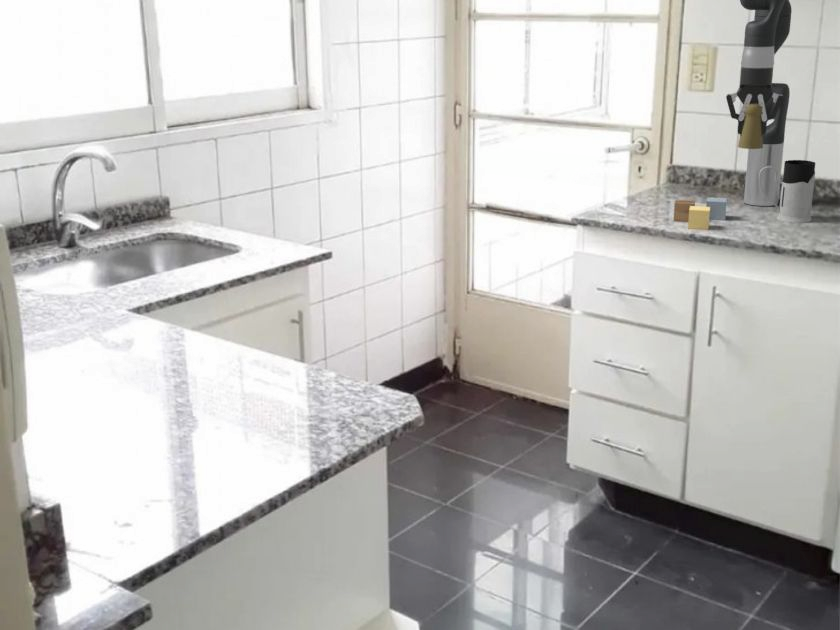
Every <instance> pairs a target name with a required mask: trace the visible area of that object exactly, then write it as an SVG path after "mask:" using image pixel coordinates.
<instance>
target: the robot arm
mask: <svg viewBox="0 0 840 630" xmlns="http://www.w3.org/2000/svg"><path fill="white" fill-rule="evenodd" d="M739 3H740V5H741V6H742V8H743V9H746V10H749V11H754V18H753V19H754V20H752V21H749V22H747V23H746V25H745V30H744V40H743V50H742V53H741V61H740V74H739V85H738V86H739V87H738V89H737V91H735V92H734V93H728V94H726V96H725V97H726V101H727V102H726V103H727V107H728V110H729V115H730V117H731V118H732V119H734V120H737V135H739V137H740V136H741V135H742V130H743V126H744V116H745V114H744V112H745V109H746V108H745V107H747V106H748V105H749V103H758V104H759V105H760V106H761V107H763V108H762V112H763V114H762V115H761V117H762V122H761V133H762V137H763V148H760V149H748V150H747V161H746V170H745V171H746V172H745V174H746V175H745V183H744V184H745V185H744V195H743V203H744V204H746V205H749V206H759V207H770V206H775V205H774V204H773V203H772V202H770V201H769V200H768V199H767V198H766V197H765V196H764V195H763V193H762V191H761V188H760V185H759V173H760V171H761V169H763V168H764V167H767V166H770V167H773V168H774V169H775V170H776V172H777V181H778V182H781V176H782V168H783V167H782V166H783V155H784V154H783V153H784V144H785V132H786V122H787V118H788V115H787V114H788V109H789V103H790V95H791V93H790V87H789V84H787V83H782V82H773V75H774V74H773V73H774V65H775V55H776V54H777V52H778V51H779V50H780V49H781V48H782V46H783V45H784V43H785V42H786V40H787V38H788V37H789V34H790V30H791V21H792V5H791V3H790V0H739ZM737 98H738V99H739V101H740V103H742V106H741V109H740V111H739V113H737V112H736V109H735V105H734V103H735V102H736V99H737ZM771 120H773V121H772V122H771V123H770V124H768V125H767V123H768V121H771ZM760 182H761V187H762V189H763V191H764V193H765V194H766V196H767V197H768V198H769V199H771V200H772V201H773V202H774V203H775V204H776V205H777V206H778V204H779V199H780V198H779V196H780V188H781V187H780V185H781V184H780V183H777V182H776V180H775V171H774V170H773V169H772V168H765V169H764V170H762V172H761V175H760Z"/></svg>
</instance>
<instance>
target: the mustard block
mask: <svg viewBox="0 0 840 630" xmlns="http://www.w3.org/2000/svg"><path fill="white" fill-rule="evenodd" d="M709 217H710V207H706V206H702V205H701V206H700V205H698V206H697V205H695V206H690V209H689V219H688V222H687V223H688V224H687V229H688V230H700V231H702V230H703V231H709V228H710V220H709Z"/></svg>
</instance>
